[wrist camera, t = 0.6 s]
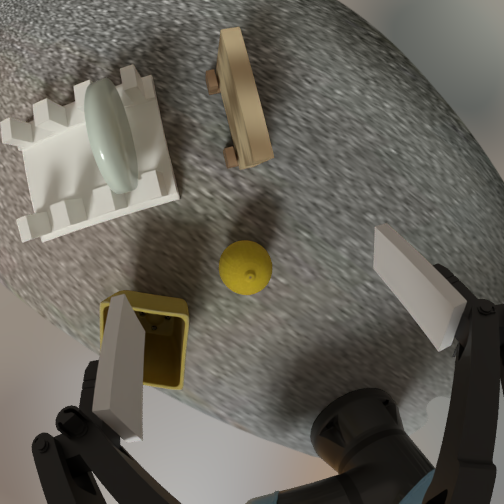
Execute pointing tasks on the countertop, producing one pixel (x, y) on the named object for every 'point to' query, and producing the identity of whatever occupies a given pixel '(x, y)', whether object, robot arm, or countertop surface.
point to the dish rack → (88, 161)
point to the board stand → (214, 89)
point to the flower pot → (158, 336)
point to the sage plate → (110, 136)
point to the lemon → (245, 267)
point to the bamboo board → (242, 101)
